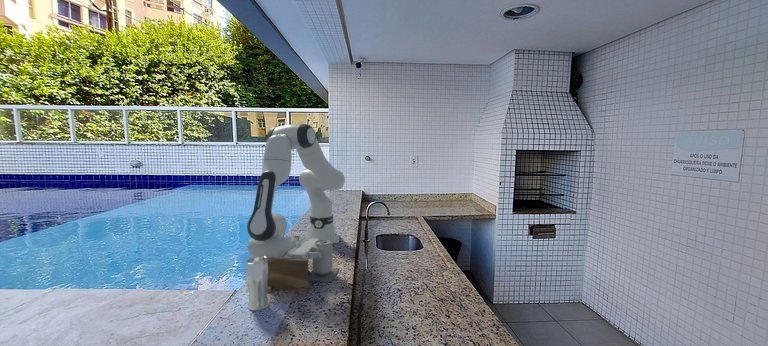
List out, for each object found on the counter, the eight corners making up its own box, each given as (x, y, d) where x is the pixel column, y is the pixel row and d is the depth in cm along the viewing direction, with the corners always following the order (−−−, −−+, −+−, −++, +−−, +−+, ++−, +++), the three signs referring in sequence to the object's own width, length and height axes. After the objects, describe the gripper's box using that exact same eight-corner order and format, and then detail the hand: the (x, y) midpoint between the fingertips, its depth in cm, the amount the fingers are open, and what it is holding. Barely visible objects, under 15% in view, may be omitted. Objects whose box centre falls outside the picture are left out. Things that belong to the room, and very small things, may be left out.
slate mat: (314, 269, 127) (314, 268, 127) (338, 270, 127) (338, 269, 127) (305, 280, 116) (305, 279, 116) (332, 282, 116) (332, 280, 116)
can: (334, 268, 125) (334, 239, 124) (328, 275, 117) (329, 245, 116) (316, 267, 125) (316, 238, 124) (309, 274, 118) (310, 243, 117)
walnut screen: (272, 284, 113) (272, 255, 112) (310, 286, 112) (310, 257, 111) (265, 292, 107) (264, 261, 106) (304, 294, 106) (304, 263, 105)
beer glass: (247, 313, 93) (246, 265, 92) (245, 303, 99) (244, 257, 98) (271, 308, 96) (271, 262, 95) (268, 298, 102) (268, 254, 101)
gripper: (279, 249, 111) (317, 251, 110) (299, 234, 131) (331, 235, 130) (279, 266, 111) (317, 268, 110) (299, 248, 132) (330, 250, 131)
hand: (324, 250), depth 121 cm, fingers closed on can, 7 cm apart
